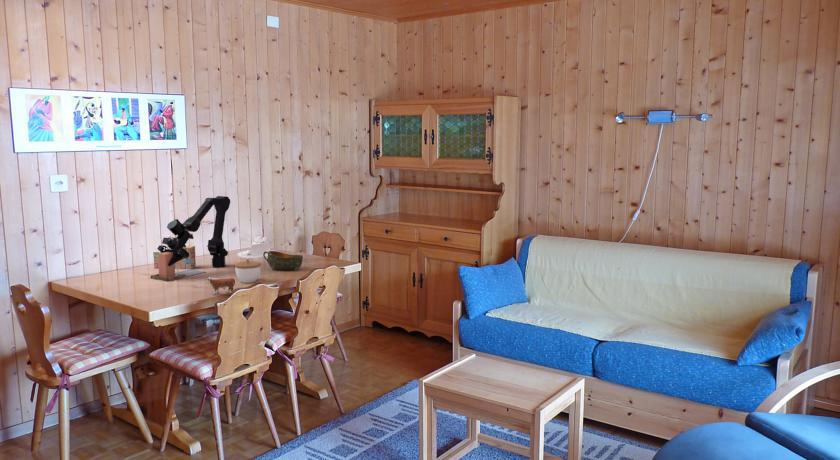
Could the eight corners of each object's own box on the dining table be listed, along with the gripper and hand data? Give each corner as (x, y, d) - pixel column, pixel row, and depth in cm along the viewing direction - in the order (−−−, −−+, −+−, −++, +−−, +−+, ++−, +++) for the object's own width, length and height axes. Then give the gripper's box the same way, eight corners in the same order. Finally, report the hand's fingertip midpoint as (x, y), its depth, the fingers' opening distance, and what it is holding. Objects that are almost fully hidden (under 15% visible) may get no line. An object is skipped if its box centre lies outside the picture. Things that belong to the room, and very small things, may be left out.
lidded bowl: (266, 281, 337) (265, 259, 335) (244, 285, 328) (243, 263, 326) (252, 277, 345) (251, 256, 344) (230, 281, 336) (229, 259, 334)
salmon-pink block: (168, 276, 347) (166, 251, 345) (175, 277, 344) (174, 253, 342) (159, 278, 342) (157, 253, 340) (166, 279, 339) (165, 254, 337)
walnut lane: (168, 274, 351) (168, 271, 351) (185, 277, 345) (185, 274, 344) (150, 278, 342) (150, 275, 342) (167, 281, 335) (167, 278, 335)
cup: (279, 265, 376) (278, 247, 374) (305, 269, 365) (305, 251, 363) (262, 269, 365) (261, 251, 364) (288, 274, 354) (288, 255, 353)
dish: (250, 250, 424) (249, 233, 423) (286, 252, 418) (285, 234, 416) (229, 257, 401) (228, 239, 399) (267, 259, 394) (266, 240, 393)
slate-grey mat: (190, 270, 363) (190, 269, 363) (205, 272, 357) (205, 271, 357) (172, 274, 353) (172, 273, 353) (187, 276, 347) (187, 275, 347)
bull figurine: (206, 292, 312) (206, 275, 311) (236, 292, 313) (235, 275, 312) (204, 295, 308) (203, 277, 307) (234, 294, 309) (233, 277, 308)
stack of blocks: (153, 268, 367) (152, 246, 365) (159, 266, 373) (158, 244, 371) (191, 269, 365) (190, 247, 363) (196, 267, 371) (195, 245, 370)
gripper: (159, 229, 347) (142, 254, 340) (183, 232, 338) (166, 257, 330) (172, 242, 355) (156, 266, 348) (196, 245, 346) (180, 270, 338)
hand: (164, 265), depth 341 cm, fingers open, 6 cm apart
